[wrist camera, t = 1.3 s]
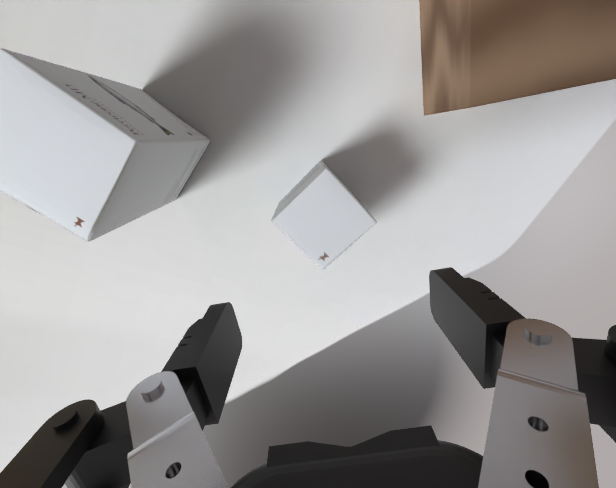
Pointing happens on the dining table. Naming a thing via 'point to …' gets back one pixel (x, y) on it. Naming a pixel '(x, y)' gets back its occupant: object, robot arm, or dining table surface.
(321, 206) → the skincare box
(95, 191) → the supplement box
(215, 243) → the dining table surface
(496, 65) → the walnut block
